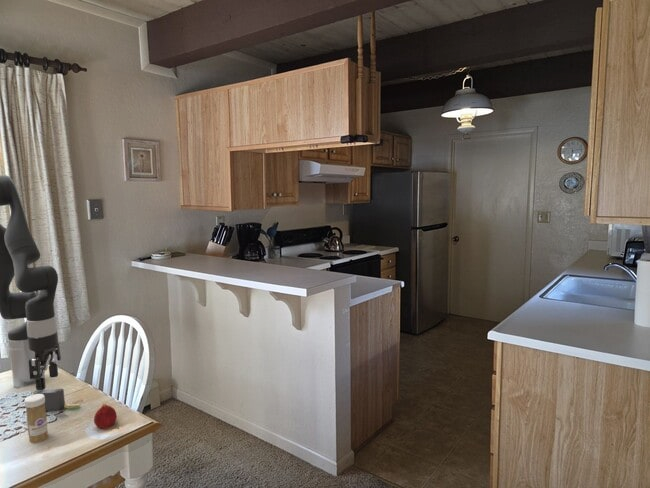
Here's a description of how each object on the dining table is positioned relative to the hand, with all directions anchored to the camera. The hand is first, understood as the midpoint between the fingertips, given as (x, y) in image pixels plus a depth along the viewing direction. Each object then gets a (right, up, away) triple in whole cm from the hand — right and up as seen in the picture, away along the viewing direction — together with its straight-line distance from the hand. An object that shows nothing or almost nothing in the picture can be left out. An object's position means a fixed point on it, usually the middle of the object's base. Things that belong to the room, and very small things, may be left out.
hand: (47, 383), depth 132 cm
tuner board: (+3, -10, +1) cm, 10 cm away
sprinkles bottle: (+6, -12, -14) cm, 19 cm away
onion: (+22, -11, -7) cm, 25 cm away
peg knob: (+2, -8, +2) cm, 9 cm away
